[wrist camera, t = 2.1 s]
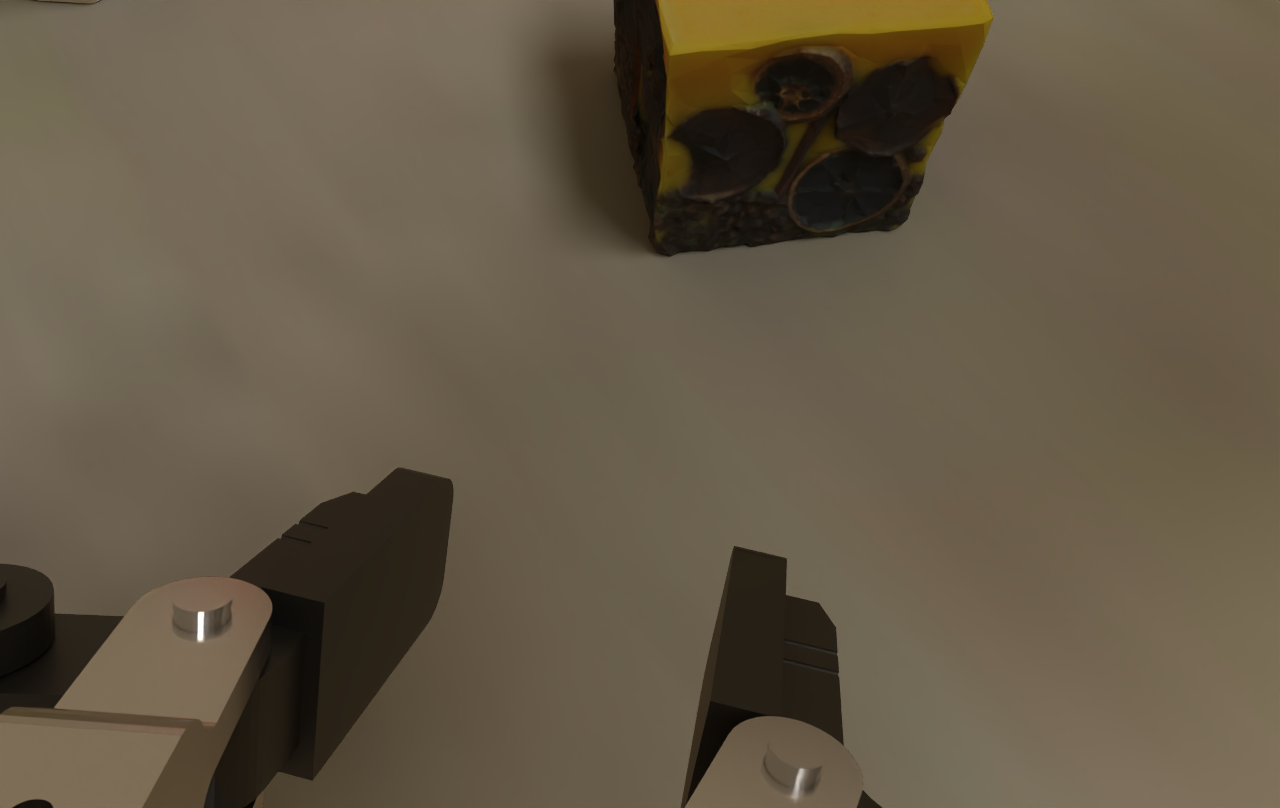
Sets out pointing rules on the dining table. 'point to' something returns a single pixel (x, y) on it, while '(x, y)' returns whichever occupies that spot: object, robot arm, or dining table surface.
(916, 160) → the candle
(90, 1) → the ceramic cup
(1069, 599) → the dining table surface
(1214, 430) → the dining table surface
